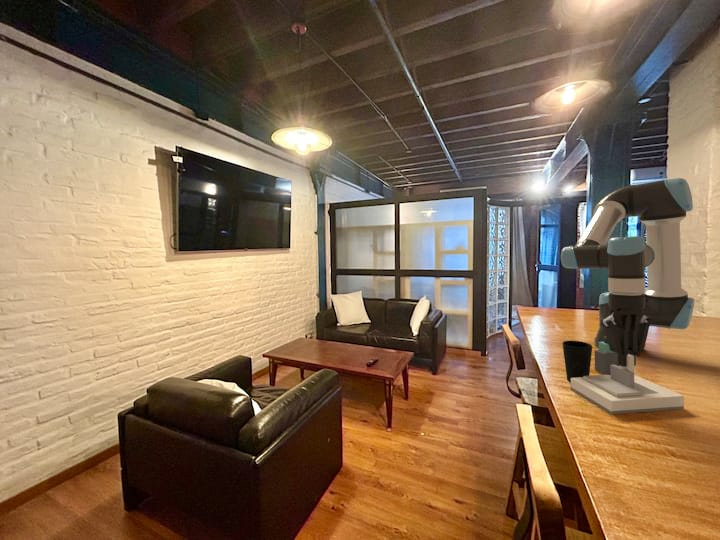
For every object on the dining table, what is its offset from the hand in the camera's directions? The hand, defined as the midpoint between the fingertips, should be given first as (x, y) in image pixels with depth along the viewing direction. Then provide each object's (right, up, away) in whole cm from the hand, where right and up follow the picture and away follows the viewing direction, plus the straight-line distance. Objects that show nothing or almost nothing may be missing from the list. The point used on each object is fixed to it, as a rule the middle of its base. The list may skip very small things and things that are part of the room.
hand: (626, 377), depth 82 cm
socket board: (-1, -6, 0) cm, 6 cm away
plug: (+9, -5, +18) cm, 20 cm away
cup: (-5, -6, +12) cm, 14 cm away
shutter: (-4, -3, 0) cm, 5 cm away
